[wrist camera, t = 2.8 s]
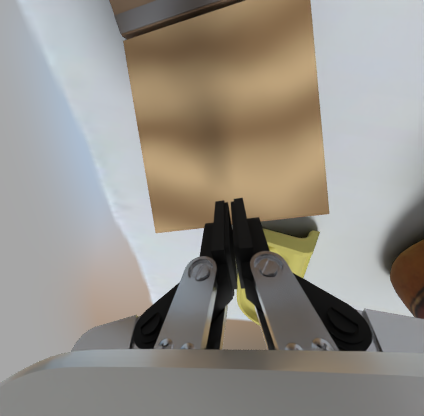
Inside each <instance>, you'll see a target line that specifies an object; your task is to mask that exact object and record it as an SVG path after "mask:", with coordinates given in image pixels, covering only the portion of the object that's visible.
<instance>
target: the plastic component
mask: <svg viewBox="0 0 424 416" xmlns="http://www.w3.org/2000/svg"><path fill="white" fill-rule="evenodd" d="M263 231H264V234H265V237H266V241H267V244H268V247H269V250H270V251H271V252H274V253H277V254H279V255H280V256H282V257H283V258H284V260H285V261H286V262H287V264H288V266H289V267H290V269H291V271H292V272H293V273H294V274H296V275H298V276H300V277H301V278H303V277H304V274H305V272H306V269H307V266H308V263H309V261H310V258H311V255H312V254H313V251H314V248H315V245H316V242H317V239H318V236H319V233H320V232H318V231H310V232H309V234H308V237H307V238H297V237H293V236H290V235H286V234H282V233H278V232H275V231H271V230H267V229H263ZM237 286H238V289H237V302H238V305H239V307H240V309H241V310H242V312H243V313H244V314H245V315H246V316H247V317H248V318H249V319H250V320H252V321H253V322H255V323H256V324H258V325H260V324H259V320H258V317H257V314H256V310H255V306H254V304H252V303H251V302H250V301H249V300H248V299H247V298H246V294H245V289H241V286H240V281H239V275H238V280H237Z"/></svg>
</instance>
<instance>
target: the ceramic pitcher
mask: <svg viewBox="0 0 424 416" xmlns="http://www.w3.org/2000/svg"><path fill="white" fill-rule="evenodd" d="M390 280H391V282H392V285H393V287H394V289H395V291H396V293H397V294H398V296H399V297H400V299H401V300H402V302H403V303H404V304H405V306H406V307H407V308H408V309H409V311H410V312H411V313H412V314H413V316H414V317H415V318H420V319H424V240H421V241H419V242H418V243H416V244H414V245H412V246H411V247H409V248H407V249H406V250H405V251H403V252H402V253H401V254H400V255H399V256H398V257H397V258H396V260H395V261H394V262H393V265H392V267H391V272H390Z"/></svg>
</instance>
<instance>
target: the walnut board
mask: <svg viewBox="0 0 424 416" xmlns="http://www.w3.org/2000/svg"><path fill="white" fill-rule="evenodd" d="M109 1H110V4H111V6H112V9H113V12H114V16H115V19H116V22H117V24H118V27H119V30H120V33H121V35H122V36H123V37H124V38H126V39H127V40H128V39H131V38H134V37H137V36H140V35H143V34H146V33H149V32H152V31H155V30H158V29H161V28H164V27H167V26H170V25H173V24H176V23H179V22H182V21H185V20H188V19H191V18H194V17H197V16H200V15H203V14H206V13H209V12H212V11H215V10H218V9H221V8H224V7H227V6H230V5H233V4H236V3H239V2H242V1H245V0H109Z"/></svg>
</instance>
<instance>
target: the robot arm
mask: <svg viewBox="0 0 424 416" xmlns="http://www.w3.org/2000/svg"><path fill="white" fill-rule="evenodd" d="M231 215H232V224H231V217H230V211H229V205H228V202H225V201H224V200H222V201H215V211H214V222H213V223H206V224H205V226H204V233H203V239H202V245H201V252H200V257H197V258H195V259H193V260H192V261H190V262H189V264H188V265H187V266H186V268H185V270H184V273H183V276H182V278H181V281H180V282H179V283H178V284H177V285H176V286H175V287H174V288H172V289H171V290H170V291H169V292H168V293H166V294H165V295H164V296H163V297H162V298H160V299H159V300H158V301H157V302H156V303H155V304H153V305H152V306H151V307H150V308H149V309H147V310H146V311H145V312H144V313H143V314H142V315H141V316H139V317H138V316H137V315H134V316H131V317H127V318H124V319H121V320H118V321H114V322H111V323H107V324H104V325H100V326H97V327H94V328H92V329H90V330H88V331H87V332H86V333H84V334H83V335H82V336H81V338H79V340H78V341H77V342H76V344H75V345H74V347H73V349H72V351H71V352H68V353H64V354H59V355H56V356H52V357H49V358H47V359H44V360H42V361H39V362H37V363H35V364H33V365H31V366H29V367H27V368H25V369H23V370H21V371H19V372H18V373H16V374H14V375H12V376H11V377H9V378H7V379H6V380H4V381H3V382H1V383H0V416H424V319H420V318H414V317H409V316H403V315H398V314H392V313H386V312H381V311H375V310H370V309H364V310H363V311H360V310H355V309H354V308H353V307H351V306H350V305H348V304H347V303H345V302H343V301H341V300H340V299H338V298H336V297H334V296H333V295H331V294H329V293H327V292H326V291H324V290H322V289H320V288H319V287H317V286H315V285H313V284H312V283H310V282H308V281H307V280H305V279H303V278H301V277H300V276H298V275H296V274H294V273H293V272H292V271H291V269H290V267H289V266H288V264H287V262H286V261H285V260H284V258H283V257H282V256H280V255H279V254H277V253H274V252H271V251H270V250H269V247H268V244H267V241H266V237H265V234H264V231H263V228H262V225H261V222H260V219H259V217H255V218H247V216H246V211H245V206H244V201H243V198H237V199H234V201H232V202H231ZM232 228H233V230H232ZM235 258H236V260H235ZM236 263H237V269H238V275H239V281H240V286H241V289H245V294H246V298H247V299H248V300H249V301H250V302H251V303H252V304H254V306H255V310H256V314H257V317H258V320H259V324H260V327H261V330H262V334H263V337H264V340H265V344H266V347H267V350H223V342H224V334H225V324H226V317H227V304H228V303H229V302H230V301H231V300H232V299H233V296H234V289H238V286H237V273H236Z"/></svg>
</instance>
